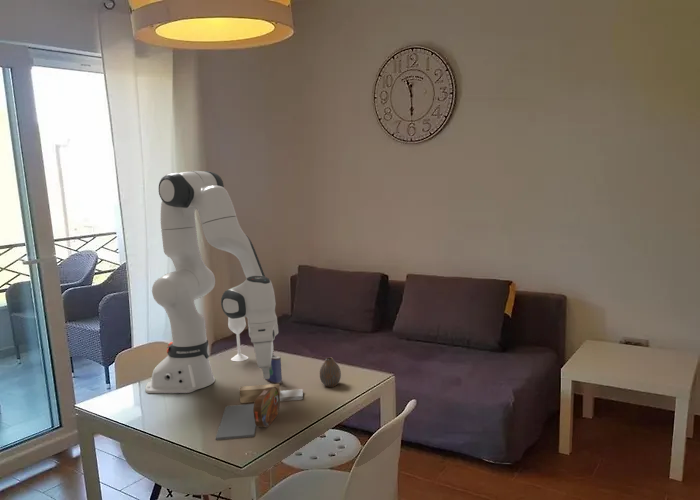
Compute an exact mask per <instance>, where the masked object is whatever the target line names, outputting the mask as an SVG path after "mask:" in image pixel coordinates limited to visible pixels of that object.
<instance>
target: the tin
mask: <svg viewBox="0 0 700 500" xmlns="http://www.w3.org/2000/svg"><path fill="white" fill-rule="evenodd" d="M280 403H281V401H280V397H279V392H278V389H277V388H276V387H268V388H265V389H264V391H263V392H262V393H261V394H260V395H259V396H258V397H257V398H256V400H255V402H253V404H254V407H253V412H254V419H255V424H256V427H258V428H269V427H270V426H271V424H272V423H273V421H275V419H276V417H277V416H278V415H279V411H280V408H281V406H280V405H281V404H280Z"/></svg>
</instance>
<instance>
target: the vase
mask: <svg viewBox="0 0 700 500" xmlns="http://www.w3.org/2000/svg"><path fill="white" fill-rule="evenodd" d="M341 379H342V372H341V368H340V366H339V364H338V363H337V362H336V361H335V359H334V358H333V357H326V358H325V360H324V362H323V363H322V365H321V367H320V368H319V380H320V381H321V383H322V385H324V386H325V387H328V388H331V387H335V386H337V385H339V383H340V381H341Z"/></svg>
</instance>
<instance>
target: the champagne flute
mask: <svg viewBox="0 0 700 500" xmlns="http://www.w3.org/2000/svg"><path fill="white" fill-rule="evenodd" d="M227 318H228V321H227V325H228V326H227V327H228V328H229V330H230V331H231V332H233V333H234V334H235V335H236V336H235V337H236V347H237V348H236V349H237V354H235V355H233V357H231V358H230V360H231V361H233V362H242V361H246V360H248V359H249V356H247V355H245V354H243V353H242V351H241V350H242V349H241V338H240V337H241V335H240V334H241V333H242V332H243V331H244V330H245V328H246V326H247V323H246V317H242V318H238V319H232V318H229V317H228V316H227Z"/></svg>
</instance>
